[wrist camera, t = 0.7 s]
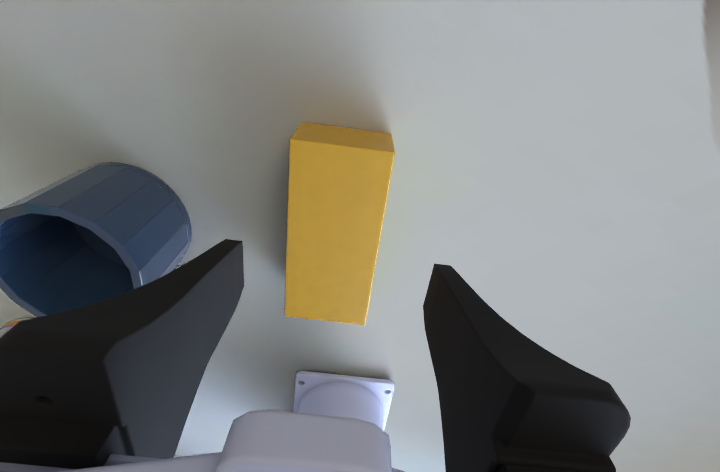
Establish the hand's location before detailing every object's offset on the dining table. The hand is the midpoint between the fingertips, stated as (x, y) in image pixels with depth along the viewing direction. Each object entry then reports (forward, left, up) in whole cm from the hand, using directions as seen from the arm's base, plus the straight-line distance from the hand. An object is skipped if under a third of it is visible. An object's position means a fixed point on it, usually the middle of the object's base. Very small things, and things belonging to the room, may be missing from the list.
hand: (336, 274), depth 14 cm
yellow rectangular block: (-2, +1, -9) cm, 10 cm away
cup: (-4, +14, -9) cm, 17 cm away
